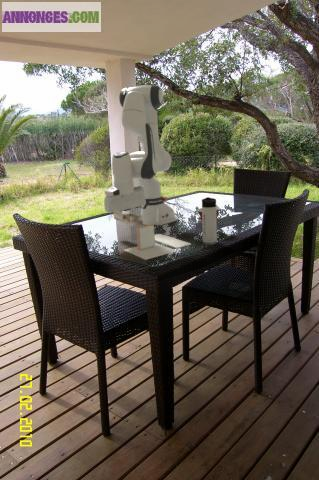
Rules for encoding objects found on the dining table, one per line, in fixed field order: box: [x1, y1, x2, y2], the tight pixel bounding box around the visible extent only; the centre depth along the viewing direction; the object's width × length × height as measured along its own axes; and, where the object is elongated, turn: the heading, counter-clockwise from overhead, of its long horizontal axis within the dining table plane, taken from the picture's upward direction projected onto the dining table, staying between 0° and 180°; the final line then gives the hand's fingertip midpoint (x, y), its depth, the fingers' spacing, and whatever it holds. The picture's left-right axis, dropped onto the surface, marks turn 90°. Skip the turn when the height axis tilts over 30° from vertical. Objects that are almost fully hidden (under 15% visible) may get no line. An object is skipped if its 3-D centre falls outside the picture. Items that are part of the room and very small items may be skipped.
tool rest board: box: [154, 233, 192, 249], centre depth 181 cm, size 8×24×1 cm, turn 35°
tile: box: [135, 224, 156, 250], centre depth 171 cm, size 8×2×10 cm, turn 125°
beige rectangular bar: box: [113, 210, 144, 228], centre depth 184 cm, size 6×19×4 cm, turn 35°
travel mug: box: [201, 196, 218, 246], centre depth 175 cm, size 6×7×20 cm
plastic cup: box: [197, 206, 221, 224], centre depth 193 cm, size 11×11×12 cm
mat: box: [123, 242, 177, 260], centre depth 169 cm, size 16×18×1 cm
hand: (127, 218), depth 183 cm, fingers closed on beige rectangular bar, 3 cm apart
